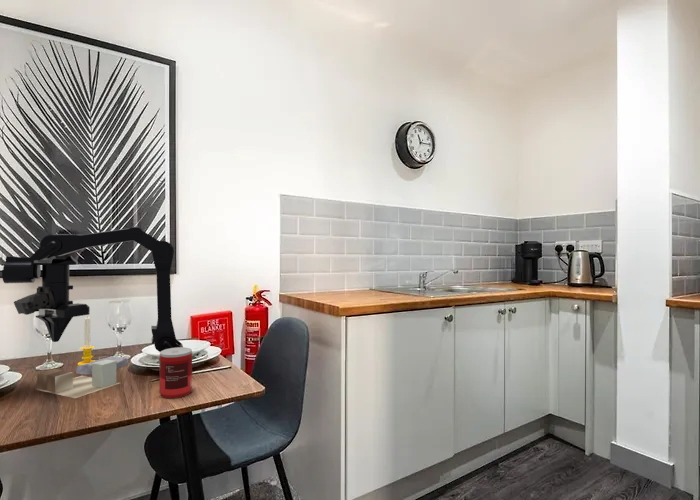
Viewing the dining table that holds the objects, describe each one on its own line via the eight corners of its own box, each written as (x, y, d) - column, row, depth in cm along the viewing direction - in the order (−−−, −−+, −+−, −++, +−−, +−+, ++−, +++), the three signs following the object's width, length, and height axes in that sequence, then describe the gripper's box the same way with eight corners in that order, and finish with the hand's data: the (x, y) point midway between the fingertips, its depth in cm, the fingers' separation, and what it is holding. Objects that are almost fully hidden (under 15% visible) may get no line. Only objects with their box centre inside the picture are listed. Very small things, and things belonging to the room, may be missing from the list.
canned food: (178, 386, 106) (178, 345, 106) (198, 391, 102) (198, 349, 102) (152, 395, 99) (152, 352, 99) (173, 401, 96) (173, 356, 96)
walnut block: (73, 372, 102) (53, 368, 105) (56, 377, 98) (37, 373, 102) (72, 387, 102) (53, 383, 105) (56, 392, 98) (37, 388, 102)
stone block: (72, 383, 114) (101, 378, 112) (69, 366, 114) (98, 361, 112) (104, 372, 125) (131, 368, 124) (102, 357, 126) (129, 352, 124)
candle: (82, 367, 123) (82, 318, 123) (74, 364, 126) (74, 316, 126) (100, 363, 127) (100, 315, 127) (92, 360, 130) (92, 314, 130)
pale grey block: (116, 383, 106) (116, 361, 106) (102, 387, 102) (102, 365, 102) (106, 381, 107) (106, 359, 107) (91, 385, 104) (92, 363, 104)
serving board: (120, 385, 106) (120, 382, 106) (74, 401, 95) (74, 398, 95) (82, 378, 112) (82, 375, 112) (35, 392, 101) (35, 389, 101)
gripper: (-3, 283, 98) (-3, 344, 98) (43, 286, 91) (43, 352, 91) (46, 280, 108) (46, 336, 108) (91, 282, 101) (90, 342, 101)
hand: (55, 341), depth 102 cm, fingers closed
